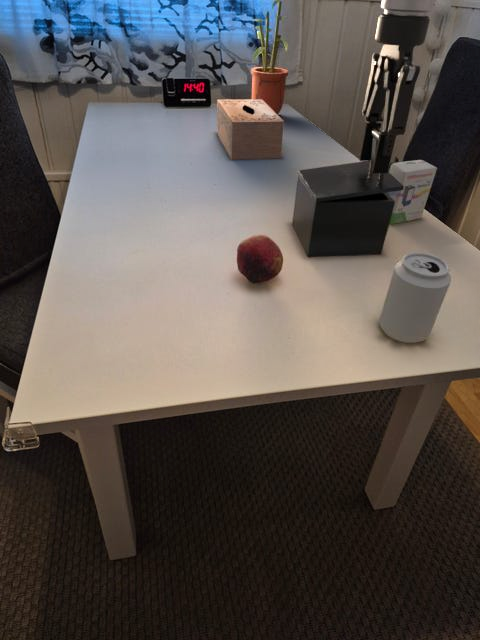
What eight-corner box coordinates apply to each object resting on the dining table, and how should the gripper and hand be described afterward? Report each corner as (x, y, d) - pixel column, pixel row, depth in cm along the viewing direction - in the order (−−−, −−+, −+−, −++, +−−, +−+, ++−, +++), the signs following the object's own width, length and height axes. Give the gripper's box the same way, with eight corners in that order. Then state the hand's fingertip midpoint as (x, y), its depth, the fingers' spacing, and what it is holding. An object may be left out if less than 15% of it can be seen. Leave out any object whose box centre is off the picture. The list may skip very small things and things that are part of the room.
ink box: (406, 210, 102) (421, 158, 95) (422, 219, 99) (438, 166, 91) (376, 215, 99) (389, 162, 92) (391, 225, 96) (406, 171, 89)
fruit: (283, 272, 79) (288, 231, 74) (276, 296, 73) (281, 253, 68) (241, 265, 80) (242, 225, 76) (230, 288, 75) (232, 246, 70)
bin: (357, 223, 96) (368, 173, 89) (381, 254, 86) (395, 201, 79) (292, 224, 94) (298, 174, 88) (307, 257, 84) (315, 202, 77)
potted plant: (291, 116, 165) (303, 0, 143) (264, 123, 156) (271, 1, 134) (256, 107, 174) (262, -3, 153) (228, 113, 165) (230, -3, 144)
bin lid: (375, 163, 88) (380, 117, 83) (403, 190, 78) (410, 139, 72) (298, 174, 88) (297, 128, 82) (316, 202, 77) (317, 152, 72)
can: (432, 350, 64) (461, 280, 57) (379, 342, 65) (400, 273, 58) (424, 318, 70) (449, 251, 63) (376, 312, 71) (395, 245, 63)
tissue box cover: (280, 158, 128) (284, 121, 121) (231, 159, 125) (232, 122, 119) (260, 132, 147) (262, 99, 141) (217, 133, 145) (217, 99, 139)
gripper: (360, 7, 74) (337, 149, 88) (407, 18, 59) (371, 186, 74) (403, 9, 75) (373, 149, 89) (460, 19, 60) (414, 185, 74)
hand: (372, 165), depth 81 cm, fingers closed on bin lid, 6 cm apart
